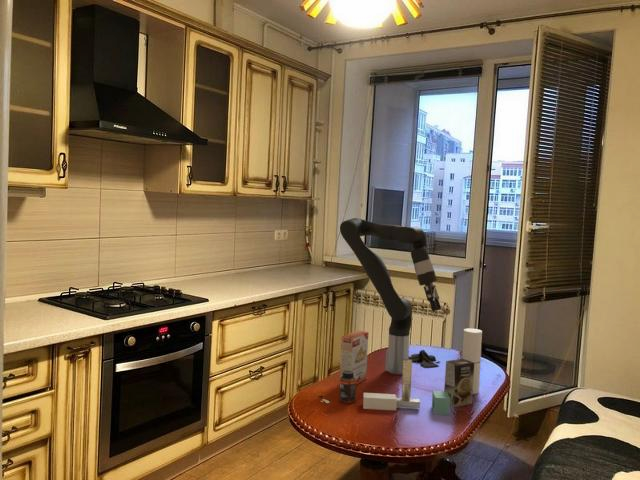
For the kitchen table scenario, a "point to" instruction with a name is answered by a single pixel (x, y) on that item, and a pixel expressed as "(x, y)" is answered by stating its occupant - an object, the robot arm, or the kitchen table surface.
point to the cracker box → (354, 354)
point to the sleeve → (379, 401)
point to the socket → (441, 402)
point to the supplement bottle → (347, 387)
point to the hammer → (407, 388)
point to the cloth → (424, 359)
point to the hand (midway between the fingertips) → (437, 310)
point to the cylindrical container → (473, 353)
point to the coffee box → (459, 381)
